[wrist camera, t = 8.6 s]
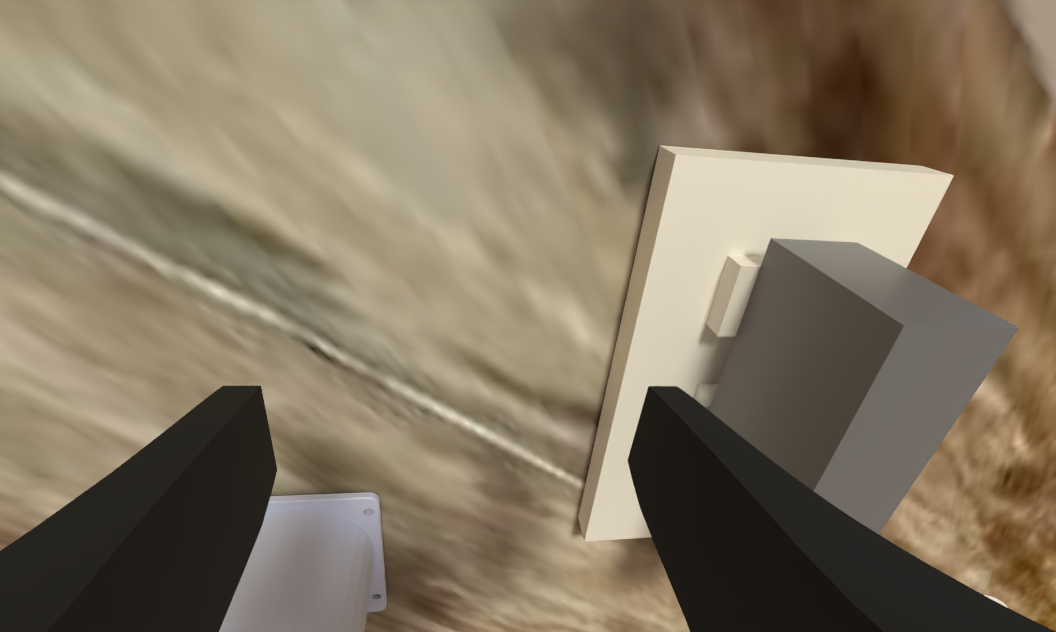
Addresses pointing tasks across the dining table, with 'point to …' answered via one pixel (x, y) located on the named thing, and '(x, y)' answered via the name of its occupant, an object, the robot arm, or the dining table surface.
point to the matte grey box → (853, 371)
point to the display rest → (727, 279)
